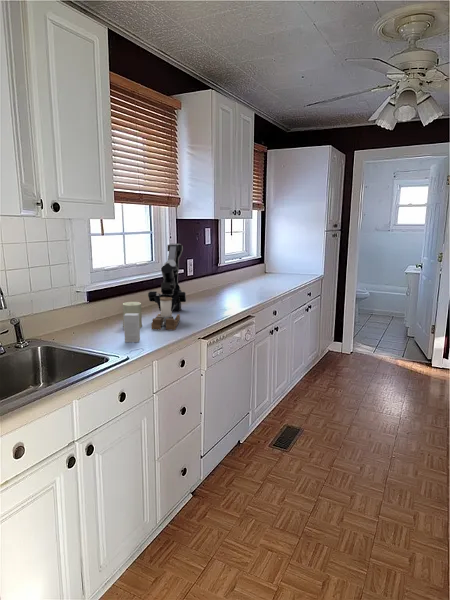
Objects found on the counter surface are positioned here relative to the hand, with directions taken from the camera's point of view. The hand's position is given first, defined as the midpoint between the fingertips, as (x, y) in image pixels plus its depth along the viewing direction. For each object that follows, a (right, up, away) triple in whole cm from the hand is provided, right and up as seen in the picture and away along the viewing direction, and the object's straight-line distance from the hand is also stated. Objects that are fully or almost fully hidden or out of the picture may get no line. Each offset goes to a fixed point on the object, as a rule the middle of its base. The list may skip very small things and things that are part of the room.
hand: (165, 310), depth 207 cm
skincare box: (-11, -13, -26) cm, 31 cm away
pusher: (0, -8, -4) cm, 9 cm away
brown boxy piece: (0, -7, +3) cm, 8 cm away
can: (-16, -8, -2) cm, 18 cm away
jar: (0, -6, +3) cm, 7 cm away
